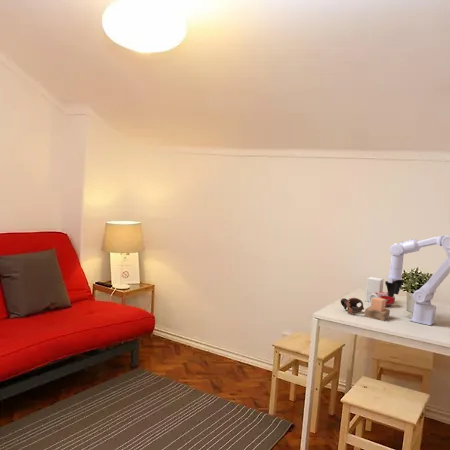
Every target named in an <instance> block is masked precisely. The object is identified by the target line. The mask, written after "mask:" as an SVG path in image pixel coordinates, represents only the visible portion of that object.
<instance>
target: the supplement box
mask: <svg viewBox="0 0 450 450" xmlns="http://www.w3.org/2000/svg"><path fill="white" fill-rule="evenodd" d="M384 282H385V279H384V278H383V277H382V278H380V277H375V276H369V277H367V278H366V286H365V287H366V288H365V297H364V298H365V300H364V301H365V302H369V303H371V302H370V296H371V294H372V293H378V292H384V291H383V290H384Z"/></svg>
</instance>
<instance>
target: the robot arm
mask: <svg viewBox="0 0 450 450" xmlns="http://www.w3.org/2000/svg"><path fill="white" fill-rule="evenodd" d="M435 245H436V246H438V247H442V248H443V250H444V251H445V253H446V259H445V260H444V261H443V262H442V263H441V265H440V266H439V267H438V268H437V269H436V270H435V272H434V273H433V274H432V275H431V277H430V278H429V279H428V280H427V281H426V283H424V284H423V285H422V286H421V287H420V288H419V289H416V290H415V291H414V292H413V294H412V298H413V300H414V303H413V309H412V310H413V312H412V318H410V319H409V321H410V322H414V323H417V324H422V325H426V326H427V325H428V326H432V325H433V324H434V323H436V312H437V307H436V305H435V304H432V301H431V300H433V298H434V295H435V293H436V292H437V289H438V287H440V286H441V284H442V283H443V282H444V281H445V279H446V278H447V277H448V276H449V274H450V234H448V235H447V234H446V235H438V236H434V237H433V236H432V237H430V238H429V237H428V238H426V239H422V240H417V239H416V238H415V239H414V238H410V239H409V240H407V241H400V242H399V243H393V244H392V245H390V247H389V253H390V263H389V270H388V271H389V272H388V273H389V274H387V275H386V278H387V280H384V283H385V286H386V289H387V292H388V296H390V297H393V296H395V295H399V292H400V290H401V287H402V285H403V284H404V282H405V280H403V279H402V275H403V274H402V273H403V264H404V256H405V255H407V254H411V253H416V252H419V251H420V249H421V248H425V247H430V246H435Z"/></svg>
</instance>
